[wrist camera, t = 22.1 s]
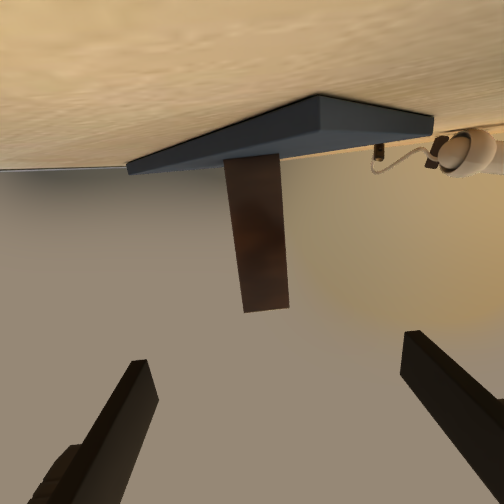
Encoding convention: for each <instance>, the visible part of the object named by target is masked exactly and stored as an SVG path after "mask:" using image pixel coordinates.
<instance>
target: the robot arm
mask: <svg viewBox="0 0 504 504" xmlns="http://www.w3.org/2000/svg"><path fill="white" fill-rule="evenodd" d="M400 375H401V377H402V378H403V379H404V381H405V382H406V383H407V384H408V385H409V387H410V388H411V390H412V391H413V392H414V394H415V395H416V396H417V397H418V399H419V400H420V401H421V402H422V404H423V405H424V406H425V408H426V409H427V410H428V412H429V413H430V414H431V416H432V417H433V418H434V419H435V421H436V422H437V423H438V425H439V426H440V427H441V428H442V430H443V431H444V432H445V434H446V435H447V436H448V437H449V439H450V440H451V441H452V443H453V444H454V445H455V447H456V448H457V449H458V450H459V452H460V453H461V454H462V456H463V457H464V458H465V459H466V461H467V462H468V463H469V465H470V466H471V467H472V469H473V470H474V471H475V472H476V474H477V475H478V476H479V477H480V479H481V480H482V481H483V483H484V484H485V485H486V487H487V488H488V489H489V490H490V492H491V493H492V494H493V496H494V497H495V498H496V499H497V501H498V502H499V503H500V504H504V399H496V398H495V397H494V396H493V395H492V394H491V393H490V392H488V391H487V390H486V389H485V388H484V387H483V386H482V385H481V384H480V383H478V382H477V381H476V380H475V379H474V378H473V377H471V375H470V374H468V373H467V372H466V371H465V370H464V369H463V368H462V367H461V366H459V365H458V364H457V363H456V362H455V361H454V360H453V359H451V358H450V357H449V356H448V355H447V354H446V353H445V352H444V351H443V350H441V349H440V348H439V347H438V346H437V345H436V344H435V343H434V342H432V341H431V340H430V339H429V338H428V337H427V336H426V335H424V333H422V332H421V331H420V330H417V331H407V332H405V333H404V342H403V352H402V360H401V369H400ZM158 401H159V399H158V395H157V392H156V389H155V385H154V382H153V379H152V376H151V372H150V368H149V365H148V362H147V360H146V359H145V360H136V361H131V363H130V365H129V366H128V368H127V370H126V372H125V373H124V375H123V377H122V378H121V380H120V382H119V383H118V385H117V386H116V388H115V390H114V391H113V393H112V395H111V397H110V398H109V400H108V401H107V403H106V405H105V406H104V408H103V410H102V411H101V413H100V415H99V416H98V418H97V420H96V421H95V423H94V425H93V426H92V428H91V430H90V431H89V433H88V435H87V437H86V438H85V440H84V441H83V443H82V444H77V445H70V446H69V447H68V448H67V449H66V450H65V451H64V453H63V454H62V455H61V456H60V457H59V458H58V459H57V460H56V461H55V462H54V464H53V465H52V467H51V468H50V470H49V471H48V473H47V474H46V476H45V477H44V479H43V482H42V483H40V485H39V486H38V488H37V490H36V491H35V492H34V494H33V497H32V499H30V500H29V502H28V503H27V504H120V502H121V499H122V497H123V494H124V492H125V489H126V486H127V484H128V481H129V478H130V476H131V473H132V470H133V468H134V465H135V462H136V460H137V457H138V454H139V452H140V449H141V447H142V444H143V441H144V439H145V436H146V433H147V431H148V428H149V425H150V423H151V420H152V417H153V415H154V412H155V409H156V407H157V404H158Z"/></svg>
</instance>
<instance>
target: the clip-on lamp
mask: <svg viewBox="0 0 504 504" xmlns="http://www.w3.org/2000/svg"><path fill="white" fill-rule="evenodd" d="M448 140H449V137H448V136H439V137H437V138H435V140H434V143H433V146H432V148H431V150H430V153H429V152H428V150H427V149H426V148H424V147H419V148H416V149H414V150H412V151H411V152H409V153H408V154H406V155H405V156H403V157H402V158H400V159H399V160H397V161H396V162H395V163H393V164H392V165H390V166H389V167H387V168H385V169H384V170H382V171H378V172H376V171H374V162H375V161H383V159H384V143H380V144H375V145H374V154H373V157H372V162H371V171H372V173H374V174H381V173H384V172H386V171H387V170H390V169H391V168H393V167H394V166H396V165H397V164H399V163H400V162H402V161H403V160H405V159H406V158H408V157H409V156H411V155H412V154H414V153H416V152H419V151H422V152H424V154H425V155H426V156H427V157H428V158H427V161H426V164H425V167H426V168H432V169H436V168H437V167H438V164H439V166H440V170H441V171H442V172H443V173H444V174H446V175H448V176H450V177H456V178H459V177H468V176H471V175H474V174H476V173H479V172H480V173H489V174H499V175H504V141H498V140H495V139H494V137H493V136H492V135H491V134H490V133H488V132H486V131H484V130H479V129H468V130H464V131H461V132H458V133H457V134H455V135H454V136H453V137H452V138H451V139H450V140H449V141H448Z"/></svg>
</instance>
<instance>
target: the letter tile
mask: <svg viewBox="0 0 504 504" xmlns="http://www.w3.org/2000/svg"><path fill="white" fill-rule="evenodd" d="M223 163H224V170H225V178H226V185H227V193H228V200H229V206H230V215H231V222H232V229H233V236H234V244H235V251H236V259H237V265H238V273H239V281H240V288H241V295H242V303H243V310H244V313H251V312H259V311H268V310H277V309H287V308H289V292H288V277H287V262H286V248H285V232H284V218H283V202H282V187H281V173H280V157H279V153H277V154H268V155H259V156H251V157H242V158H233V159H224V160H223Z"/></svg>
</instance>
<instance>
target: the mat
mask: <svg viewBox="0 0 504 504" xmlns="http://www.w3.org/2000/svg"><path fill="white" fill-rule="evenodd" d="M433 126H434V117H429V116H423V115H418V114H413V113H408V112H403V111H397V110H392V109H387V108H382V107H377V106H371V105H366V104H361V103H356V102H351V101H345V100H340V99H335V98H330V97H325V96H319V95H317V96H314V97H311V98H309V99H306V100H303V101H300V102H298V103H295V104H292V105H289V106H286V107H284V108H281V109H278V110H275V111H272V112H270V113H267V114H264V115H261V116H258V117H256V118H253V119H250V120H247V121H244V122H242V123H239V124H236V125H233V126H230V127H228V128H225V129H222V130H219V131H217V132H214V133H211V134H208V135H205V136H203V137H200V138H197V139H194V140H191V141H189V142H186V143H183V144H180V145H177V146H175V147H172V148H169V149H166V150H163V151H161V152H158V153H155V154H152V155H149V156H147V157H144V158H141V159H138V160H135V161H133V162H130V163H127V164H126V166H127V170H128V174H129V175H137V174H149V173H161V172H171V171H184V170H195V169H206V168H218V167H224V163H223V160H224V159H233V158H242V157H251V156H259V155H268V154H277V153H279V157H280V159H283V158H289V157H296V156H302V155H309V154H315V153H322V152H328V151H335V150H341V149H348V148H354V147H361V146H367V145H374V144H380V143H387V142H393V141H400V140H406V139H413V138H419V137H426V136H431V135H432V134H433Z"/></svg>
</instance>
